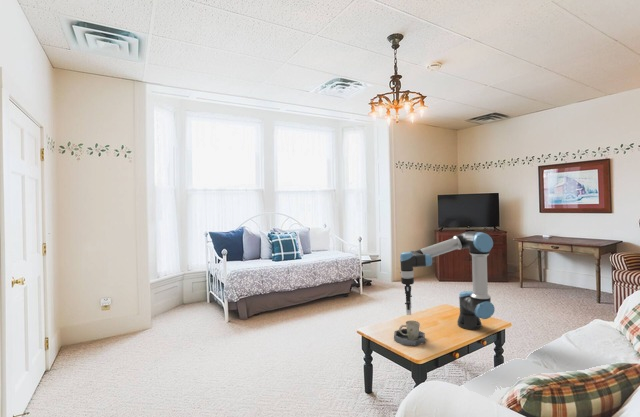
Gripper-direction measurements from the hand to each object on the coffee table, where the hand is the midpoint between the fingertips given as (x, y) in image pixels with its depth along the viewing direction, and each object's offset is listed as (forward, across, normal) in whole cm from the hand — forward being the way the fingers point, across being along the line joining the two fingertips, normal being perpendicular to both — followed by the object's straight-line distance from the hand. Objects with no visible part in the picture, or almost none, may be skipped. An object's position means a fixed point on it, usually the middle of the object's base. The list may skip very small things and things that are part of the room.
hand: (409, 311), depth 208 cm
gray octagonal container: (+18, 0, -1) cm, 18 cm away
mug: (+17, 0, 0) cm, 17 cm away
